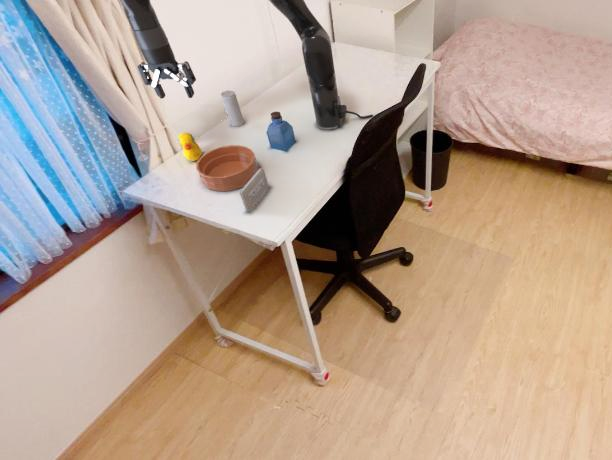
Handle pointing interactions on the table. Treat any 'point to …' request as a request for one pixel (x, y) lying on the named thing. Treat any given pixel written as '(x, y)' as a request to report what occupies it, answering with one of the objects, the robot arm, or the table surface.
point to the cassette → (254, 190)
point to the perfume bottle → (280, 133)
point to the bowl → (227, 167)
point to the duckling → (189, 146)
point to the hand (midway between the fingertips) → (177, 97)
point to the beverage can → (232, 108)
